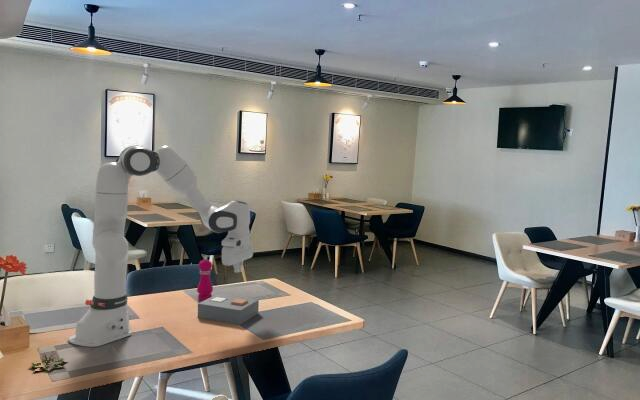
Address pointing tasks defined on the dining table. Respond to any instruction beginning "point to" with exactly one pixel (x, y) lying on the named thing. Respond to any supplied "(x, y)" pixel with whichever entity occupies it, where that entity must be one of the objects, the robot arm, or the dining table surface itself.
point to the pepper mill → (205, 280)
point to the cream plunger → (218, 299)
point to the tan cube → (239, 302)
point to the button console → (228, 309)
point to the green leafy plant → (46, 362)
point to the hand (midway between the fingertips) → (237, 272)
